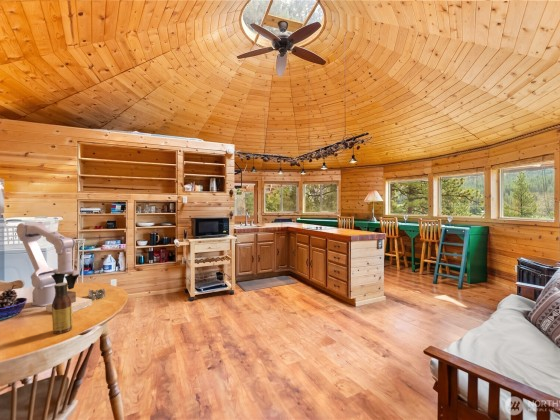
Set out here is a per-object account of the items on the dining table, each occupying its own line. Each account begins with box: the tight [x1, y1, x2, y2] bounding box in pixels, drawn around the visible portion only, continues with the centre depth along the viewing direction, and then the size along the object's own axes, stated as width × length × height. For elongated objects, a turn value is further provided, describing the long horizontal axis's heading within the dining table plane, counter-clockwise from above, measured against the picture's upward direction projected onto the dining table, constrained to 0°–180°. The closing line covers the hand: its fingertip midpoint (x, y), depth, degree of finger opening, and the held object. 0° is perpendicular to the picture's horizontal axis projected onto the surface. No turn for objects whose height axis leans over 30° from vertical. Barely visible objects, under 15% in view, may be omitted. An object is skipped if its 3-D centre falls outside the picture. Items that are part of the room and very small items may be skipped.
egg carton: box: [88, 288, 106, 301], centre depth 146 cm, size 11×8×4 cm
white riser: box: [45, 296, 93, 314], centre depth 131 cm, size 14×12×3 cm
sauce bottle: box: [51, 282, 73, 335], centre depth 107 cm, size 7×6×20 cm
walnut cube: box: [67, 290, 77, 303], centre depth 129 cm, size 5×5×5 cm
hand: (65, 288), depth 132 cm, fingers open, 7 cm apart
